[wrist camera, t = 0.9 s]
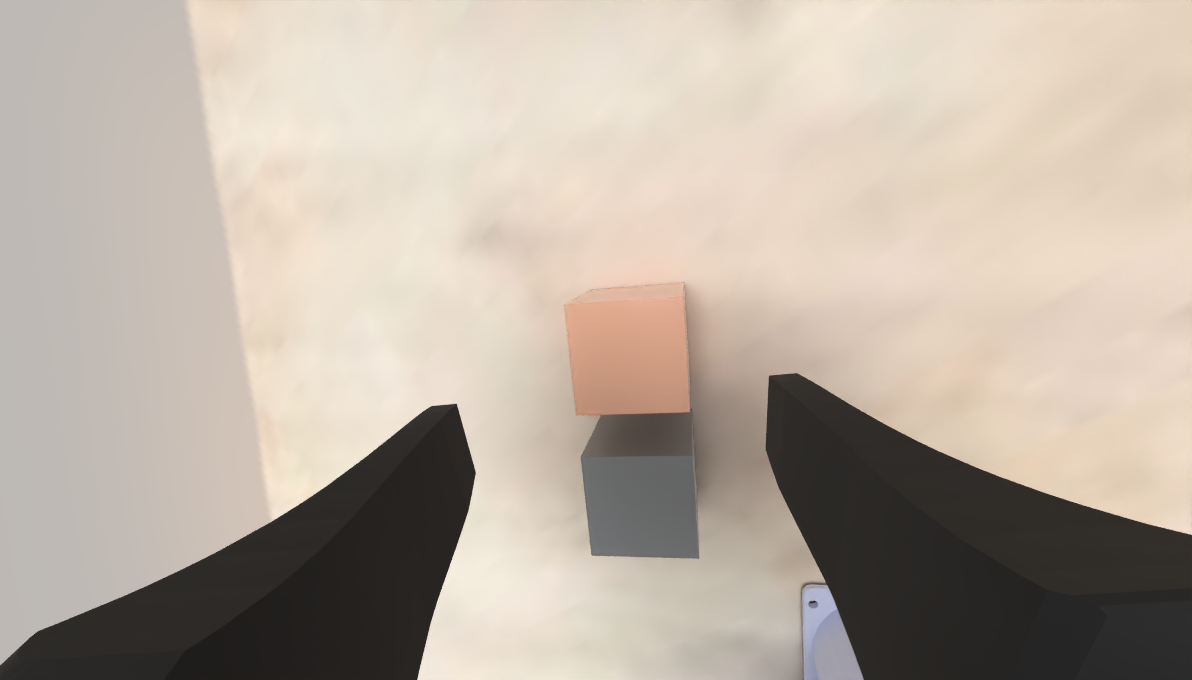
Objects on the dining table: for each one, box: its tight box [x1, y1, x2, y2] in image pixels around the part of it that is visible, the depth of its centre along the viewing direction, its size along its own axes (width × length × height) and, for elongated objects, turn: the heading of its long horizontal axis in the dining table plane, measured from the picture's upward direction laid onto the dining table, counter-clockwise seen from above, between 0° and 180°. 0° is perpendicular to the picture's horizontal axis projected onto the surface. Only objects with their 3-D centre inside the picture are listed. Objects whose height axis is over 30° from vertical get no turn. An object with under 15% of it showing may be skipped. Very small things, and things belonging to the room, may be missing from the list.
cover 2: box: [581, 409, 699, 559], centre depth 25 cm, size 5×5×6 cm
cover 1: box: [564, 282, 690, 415], centre depth 24 cm, size 5×5×6 cm
